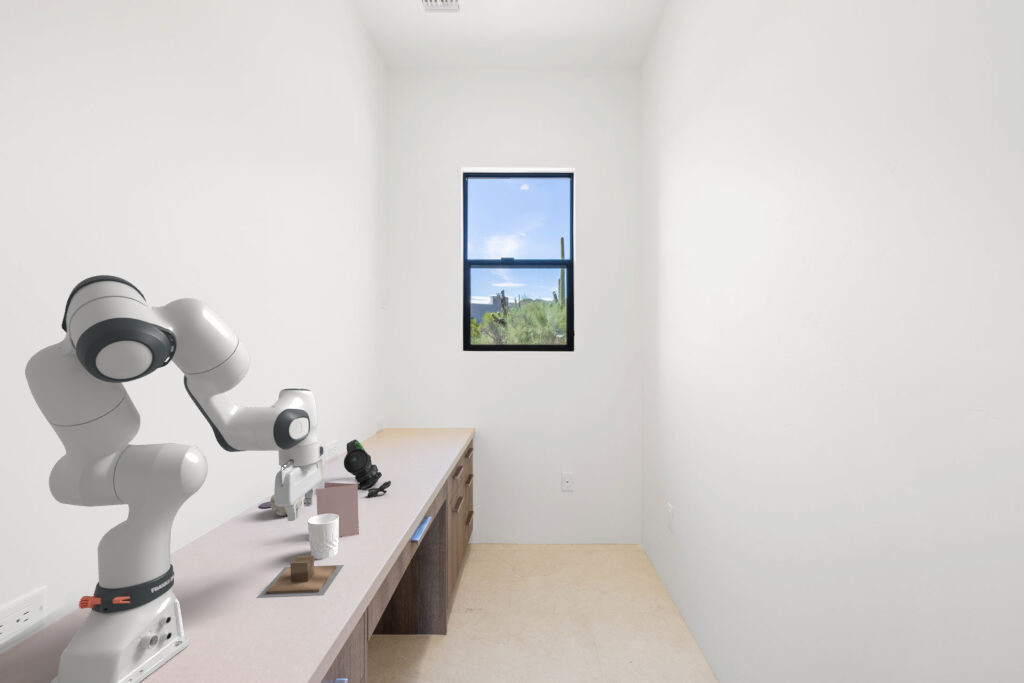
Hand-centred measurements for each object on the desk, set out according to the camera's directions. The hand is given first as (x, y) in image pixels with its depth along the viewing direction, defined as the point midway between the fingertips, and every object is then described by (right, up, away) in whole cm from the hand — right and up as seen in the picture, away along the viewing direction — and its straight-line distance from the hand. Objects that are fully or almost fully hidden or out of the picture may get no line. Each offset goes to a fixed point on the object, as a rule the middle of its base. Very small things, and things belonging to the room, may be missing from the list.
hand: (300, 512), depth 121 cm
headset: (-5, -17, +76) cm, 78 cm away
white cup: (0, -17, +15) cm, 23 cm away
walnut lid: (0, -16, 0) cm, 16 cm away
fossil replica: (-26, -17, +50) cm, 58 cm away
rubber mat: (0, -17, 0) cm, 17 cm away
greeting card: (-1, -17, +28) cm, 33 cm away
